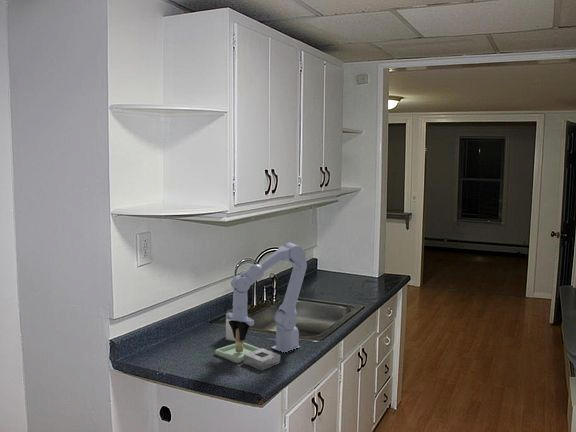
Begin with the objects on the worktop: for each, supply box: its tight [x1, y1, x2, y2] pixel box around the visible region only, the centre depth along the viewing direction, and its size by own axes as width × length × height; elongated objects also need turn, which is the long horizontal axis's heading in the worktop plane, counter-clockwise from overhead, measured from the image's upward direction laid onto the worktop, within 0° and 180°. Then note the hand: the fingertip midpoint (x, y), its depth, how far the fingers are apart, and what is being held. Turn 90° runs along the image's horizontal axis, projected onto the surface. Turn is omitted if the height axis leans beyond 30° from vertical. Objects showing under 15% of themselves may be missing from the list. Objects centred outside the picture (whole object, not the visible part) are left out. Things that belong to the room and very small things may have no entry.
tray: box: [214, 341, 261, 364], centre depth 225 cm, size 14×13×2 cm
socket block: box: [243, 347, 281, 371], centre depth 216 cm, size 10×10×4 cm
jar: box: [225, 308, 236, 342], centre depth 244 cm, size 9×8×12 cm
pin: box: [235, 328, 244, 352], centre depth 225 cm, size 3×3×9 cm
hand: (239, 339), depth 225 cm, fingers closed on pin, 3 cm apart
